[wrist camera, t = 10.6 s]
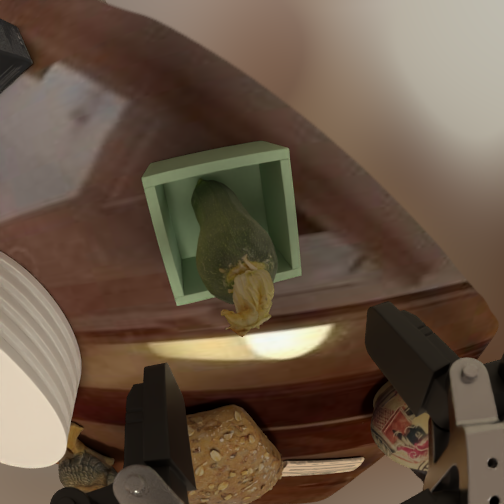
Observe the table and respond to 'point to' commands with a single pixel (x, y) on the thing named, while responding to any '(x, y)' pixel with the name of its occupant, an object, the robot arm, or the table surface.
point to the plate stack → (34, 371)
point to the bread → (230, 457)
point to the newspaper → (320, 466)
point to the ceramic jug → (400, 431)
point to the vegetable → (234, 255)
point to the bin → (247, 191)
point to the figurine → (84, 465)
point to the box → (11, 54)
